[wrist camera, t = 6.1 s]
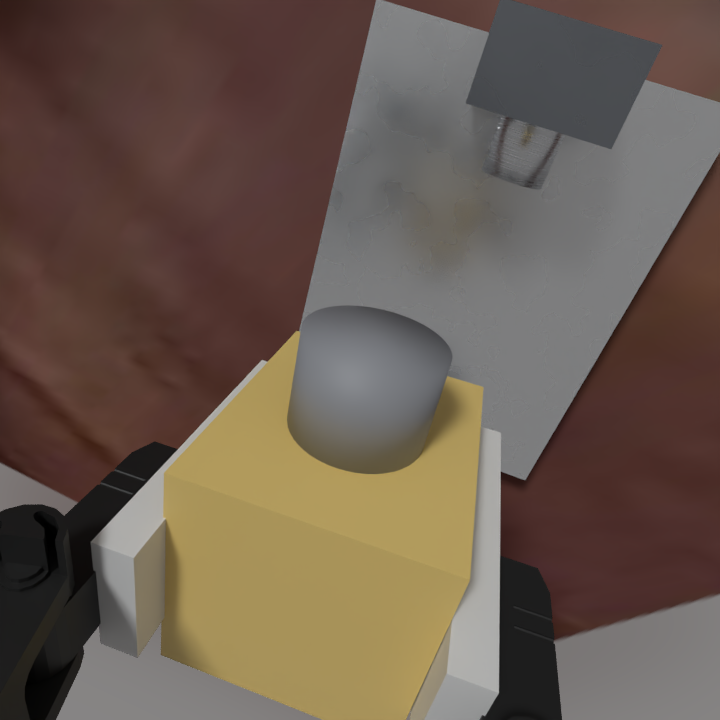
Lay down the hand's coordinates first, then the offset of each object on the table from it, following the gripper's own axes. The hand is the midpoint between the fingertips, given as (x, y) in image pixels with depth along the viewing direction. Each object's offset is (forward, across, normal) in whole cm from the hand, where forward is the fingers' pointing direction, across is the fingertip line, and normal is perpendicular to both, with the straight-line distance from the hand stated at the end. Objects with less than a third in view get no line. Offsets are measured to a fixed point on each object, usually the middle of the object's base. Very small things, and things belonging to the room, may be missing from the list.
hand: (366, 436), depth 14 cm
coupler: (0, 0, 0) cm, 0 cm away
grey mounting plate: (+16, +2, +1) cm, 16 cm away
